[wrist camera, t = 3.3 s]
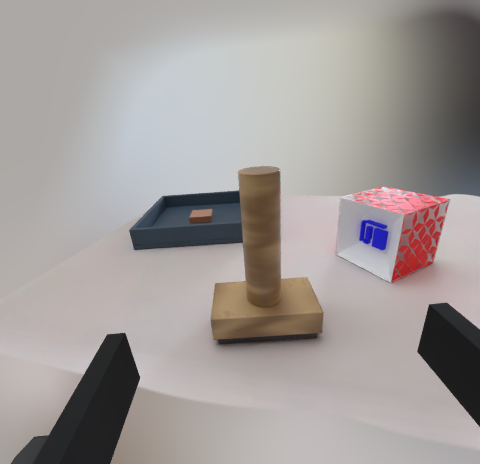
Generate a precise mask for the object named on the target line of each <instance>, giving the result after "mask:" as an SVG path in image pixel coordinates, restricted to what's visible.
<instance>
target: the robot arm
mask: <svg viewBox="0 0 480 464" xmlns="http://www.w3.org/2000/svg"><path fill="white" fill-rule="evenodd" d="M417 352H418V353H419V354H420V355H421V357H422V358H423V359H424V360H425V361H426V363H427V364H428V365H429V366H430V367H431V369H432V370H433V371H434V372H435V373H436V375H437V376H438V377H439V378H440V380H441V381H442V382H443V383H444V384H445V386H446V387H447V388H448V389H449V390H450V392H451V393H452V394H453V395H454V396H455V398H456V399H457V400H458V401H459V402H460V404H461V405H462V406H463V407H464V408H465V410H466V411H467V412H468V413H469V414H470V416H471V417H472V418H473V419H474V420H475V422H476V423H477V424H478V425H479V426H480V329H478V328H477V327H476V326H475V325H473V324H472V323H471V322H470V321H469V320H467V319H466V318H465V317H464V316H462V315H461V314H460V313H459V312H457V311H456V310H455V309H454V308H453V307H451V306H450V305H449V304H448V303H440V304H429V307H428V311H427V315H426V319H425V323H424V327H423V331H422V335H421V339H420V343H419V347H418V351H417ZM139 380H140V376H139V373H138V370H137V367H136V364H135V361H134V358H133V355H132V352H131V349H130V346H129V343H128V340H127V337H126V334H125V333H119V334H108V335H107V336H106V338H105V339H104V341H103V343H102V345H101V346H100V348H99V350H98V352H97V353H96V355H95V357H94V358H93V360H92V362H91V364H90V365H89V367H88V369H87V370H86V372H85V374H84V376H83V377H82V379H81V381H80V383H79V384H78V386H77V388H76V389H75V391H74V393H73V395H72V396H71V398H70V400H69V402H68V403H67V405H66V407H65V409H64V410H63V412H62V414H61V415H60V417H59V419H58V420H57V422H56V424H55V426H54V427H53V429H52V431H51V433H50V434H49V435H48V436H38V437H34V438H33V439H32V440H31V441H30V442H29V443H28V444H27V445H26V446H25V447H24V448H23V449H22V451H21V452H20V453H19V454H18V455H17V456H16V457H15V458H14V460H13V461H12V463H11V464H110V462H111V460H112V457H113V454H114V451H115V448H116V445H117V443H118V440H119V437H120V434H121V431H122V428H123V425H124V422H125V420H126V417H127V414H128V411H129V408H130V405H131V403H132V400H133V397H134V394H135V391H136V388H137V385H138V383H139Z"/></svg>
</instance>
